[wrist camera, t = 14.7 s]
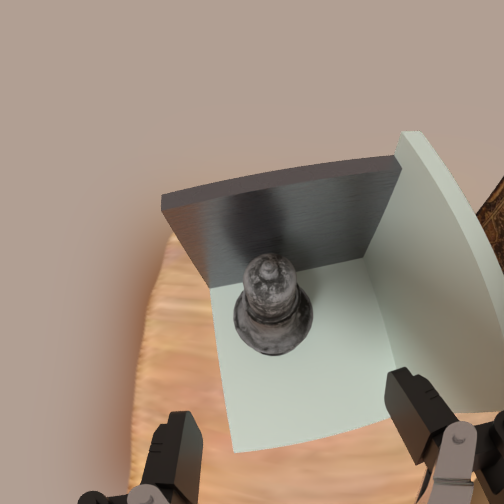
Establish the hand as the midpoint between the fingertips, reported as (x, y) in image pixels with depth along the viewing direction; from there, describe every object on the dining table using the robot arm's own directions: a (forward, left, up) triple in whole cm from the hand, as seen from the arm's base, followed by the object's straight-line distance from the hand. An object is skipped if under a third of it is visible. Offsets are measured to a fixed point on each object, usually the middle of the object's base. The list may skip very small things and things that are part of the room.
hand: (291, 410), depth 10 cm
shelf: (-3, -4, -14) cm, 15 cm away
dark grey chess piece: (0, -7, -12) cm, 14 cm away
